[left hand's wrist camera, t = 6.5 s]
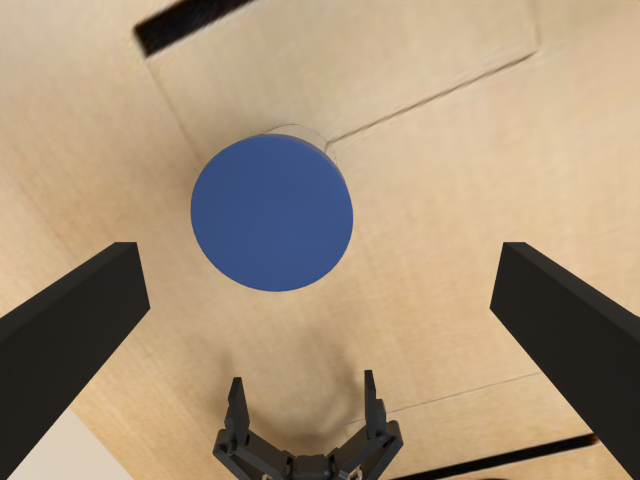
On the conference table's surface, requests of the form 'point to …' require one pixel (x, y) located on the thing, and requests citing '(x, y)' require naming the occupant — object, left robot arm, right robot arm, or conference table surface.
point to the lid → (272, 212)
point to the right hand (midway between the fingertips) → (302, 383)
